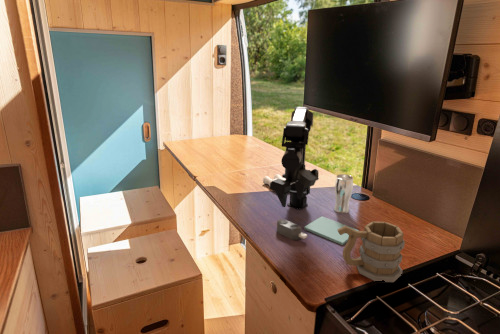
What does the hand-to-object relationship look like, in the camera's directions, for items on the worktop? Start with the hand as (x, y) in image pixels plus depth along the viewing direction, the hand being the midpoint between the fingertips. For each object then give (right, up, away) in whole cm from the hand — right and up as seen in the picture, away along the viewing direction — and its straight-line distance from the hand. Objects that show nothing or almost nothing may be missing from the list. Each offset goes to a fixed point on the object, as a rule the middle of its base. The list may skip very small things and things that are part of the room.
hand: (291, 202), depth 123 cm
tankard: (+21, -19, -15) cm, 32 cm away
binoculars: (0, +2, +46) cm, 46 cm away
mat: (+16, -11, +7) cm, 20 cm away
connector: (0, -12, +3) cm, 13 cm away
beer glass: (+24, -6, +23) cm, 33 cm away
